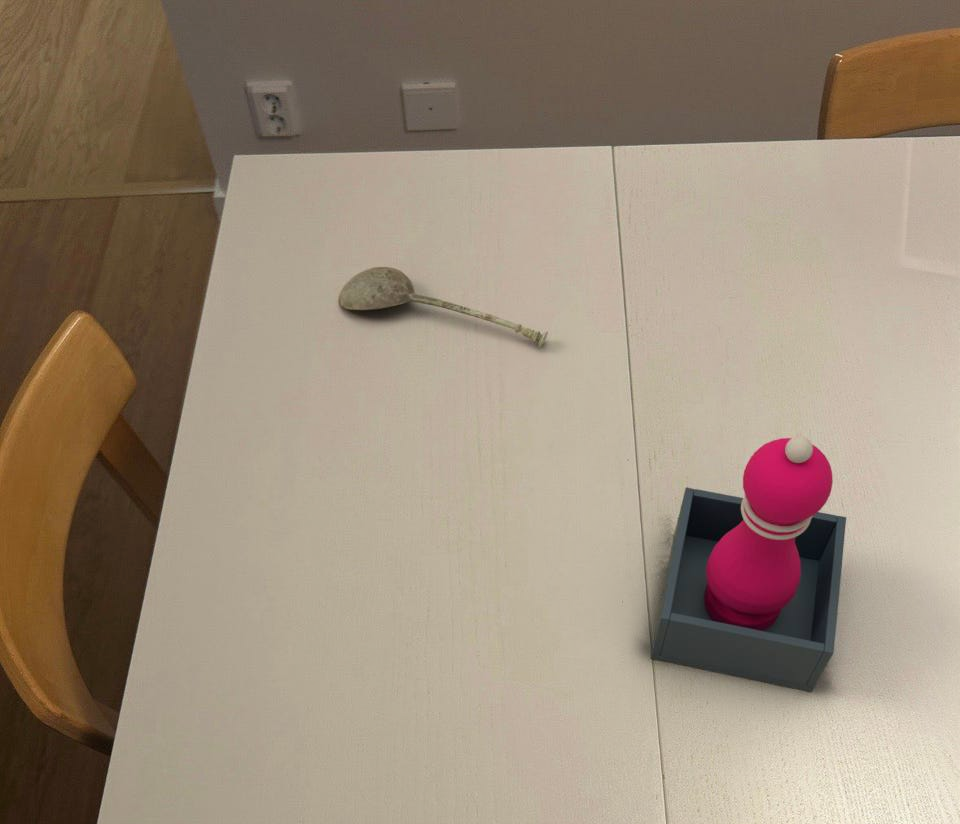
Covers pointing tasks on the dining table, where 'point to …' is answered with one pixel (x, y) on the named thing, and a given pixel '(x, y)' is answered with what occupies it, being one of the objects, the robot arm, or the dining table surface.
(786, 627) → the box
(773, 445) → the pepper mill
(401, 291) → the soupspoon
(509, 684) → the dining table surface
